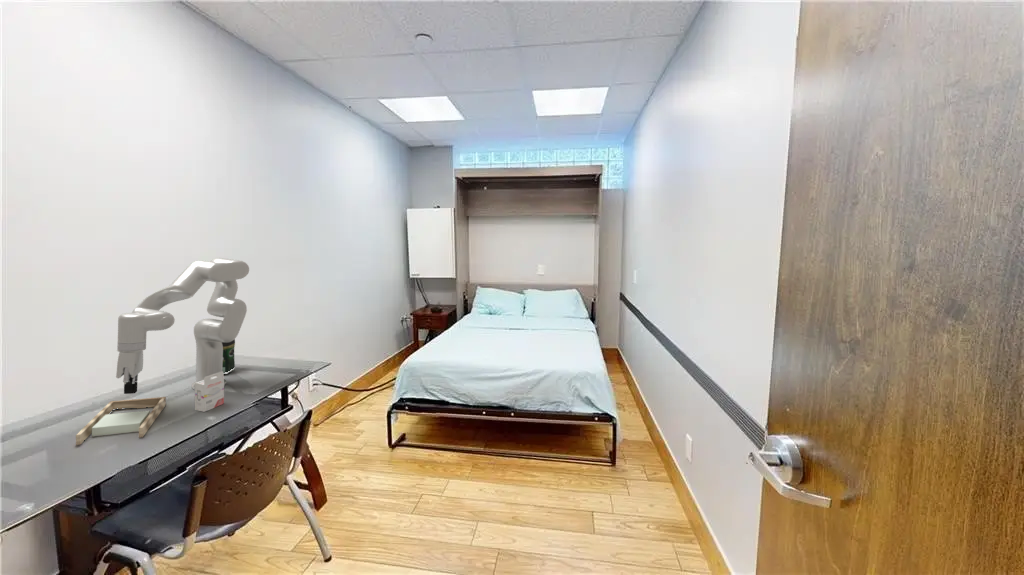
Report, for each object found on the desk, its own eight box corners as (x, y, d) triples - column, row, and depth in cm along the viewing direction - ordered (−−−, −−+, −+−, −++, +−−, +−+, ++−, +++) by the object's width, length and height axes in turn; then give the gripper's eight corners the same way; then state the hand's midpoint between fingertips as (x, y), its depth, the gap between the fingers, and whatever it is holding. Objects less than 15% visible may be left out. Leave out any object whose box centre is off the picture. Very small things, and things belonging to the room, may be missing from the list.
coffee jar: (220, 368, 191) (220, 334, 189) (237, 369, 193) (238, 335, 191) (208, 375, 182) (209, 339, 180) (226, 376, 183) (227, 340, 181)
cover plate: (105, 423, 135) (105, 414, 135) (150, 419, 141) (150, 410, 140) (92, 437, 126) (91, 428, 126) (139, 432, 132) (139, 423, 132)
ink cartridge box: (214, 401, 158) (215, 368, 157) (224, 403, 157) (225, 370, 156) (193, 410, 150) (194, 375, 148) (203, 412, 149) (204, 377, 147)
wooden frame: (110, 409, 143) (110, 401, 143) (165, 404, 151) (165, 396, 151) (76, 445, 121) (75, 435, 121) (142, 437, 129) (142, 427, 129)
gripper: (126, 340, 143) (124, 386, 145) (109, 351, 130) (107, 401, 132) (152, 340, 147) (150, 385, 148) (138, 351, 134) (136, 399, 136)
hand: (130, 392), depth 140 cm, fingers closed
